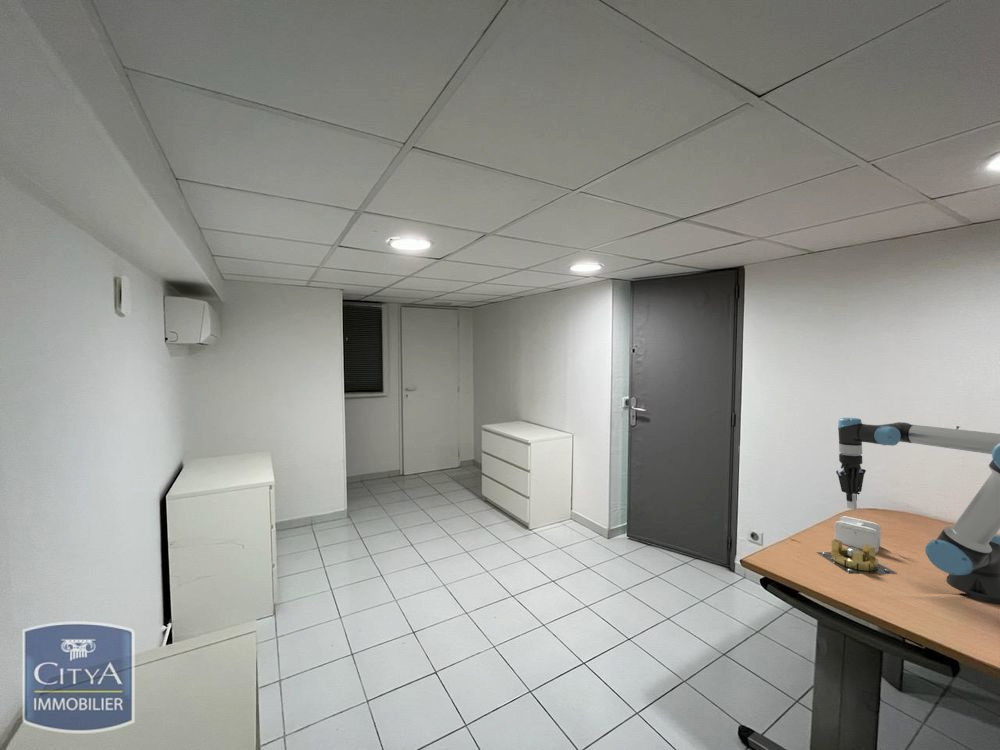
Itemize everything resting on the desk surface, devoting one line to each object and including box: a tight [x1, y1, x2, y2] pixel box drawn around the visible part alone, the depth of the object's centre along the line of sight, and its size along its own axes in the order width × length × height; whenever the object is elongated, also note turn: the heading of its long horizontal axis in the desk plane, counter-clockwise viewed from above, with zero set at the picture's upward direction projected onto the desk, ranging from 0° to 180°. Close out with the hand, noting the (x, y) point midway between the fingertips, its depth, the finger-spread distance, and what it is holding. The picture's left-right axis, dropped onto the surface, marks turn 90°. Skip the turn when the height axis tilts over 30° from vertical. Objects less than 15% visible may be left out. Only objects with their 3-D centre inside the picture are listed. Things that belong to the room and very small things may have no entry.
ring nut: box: [831, 538, 879, 571], centre depth 167 cm, size 14×14×7 cm
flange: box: [816, 546, 897, 575], centre depth 167 cm, size 18×18×7 cm
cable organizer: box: [834, 515, 882, 554], centre depth 183 cm, size 15×11×12 cm
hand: (851, 508), depth 172 cm, fingers closed
